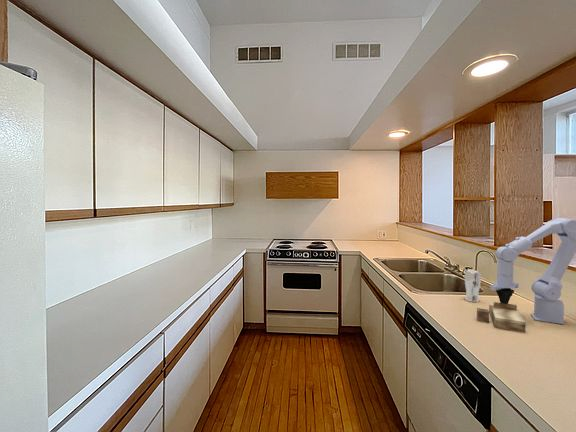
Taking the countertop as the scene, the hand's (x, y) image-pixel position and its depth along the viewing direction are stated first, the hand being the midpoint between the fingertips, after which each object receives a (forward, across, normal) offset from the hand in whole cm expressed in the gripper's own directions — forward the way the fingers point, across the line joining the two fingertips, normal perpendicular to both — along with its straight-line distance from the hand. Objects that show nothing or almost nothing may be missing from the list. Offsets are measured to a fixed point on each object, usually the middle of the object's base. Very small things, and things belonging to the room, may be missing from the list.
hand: (503, 305), depth 134 cm
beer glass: (+5, +6, +21) cm, 22 cm away
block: (+5, -13, 0) cm, 14 cm away
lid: (+2, -7, -6) cm, 9 cm away
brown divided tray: (+5, -4, -4) cm, 7 cm away
